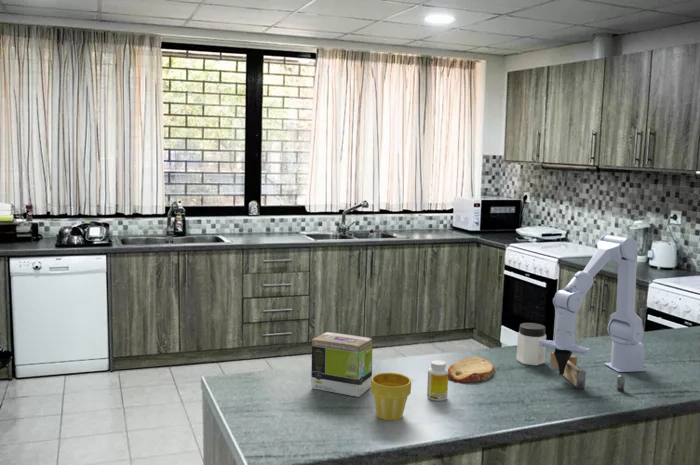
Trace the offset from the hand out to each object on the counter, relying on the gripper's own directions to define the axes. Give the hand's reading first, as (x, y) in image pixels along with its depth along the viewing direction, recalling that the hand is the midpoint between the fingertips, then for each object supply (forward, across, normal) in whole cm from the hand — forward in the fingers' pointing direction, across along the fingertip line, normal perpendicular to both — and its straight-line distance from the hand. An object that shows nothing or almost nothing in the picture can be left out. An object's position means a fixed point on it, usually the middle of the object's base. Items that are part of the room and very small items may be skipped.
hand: (561, 374), depth 198 cm
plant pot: (+3, -28, -54) cm, 61 cm away
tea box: (+3, -49, -46) cm, 67 cm away
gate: (+2, +2, +1) cm, 3 cm away
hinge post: (+2, +7, -4) cm, 8 cm away
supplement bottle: (+3, -24, -36) cm, 43 cm away
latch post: (+2, +16, +2) cm, 17 cm away
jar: (+2, -14, +12) cm, 18 cm away
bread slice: (+3, -25, -10) cm, 27 cm away
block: (+2, -4, +14) cm, 15 cm away
